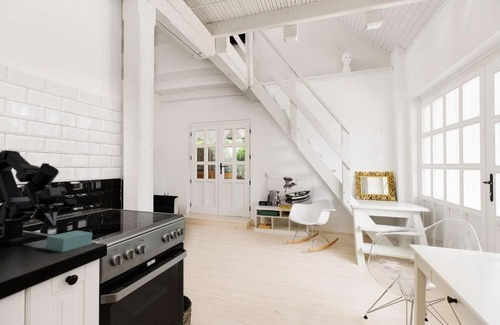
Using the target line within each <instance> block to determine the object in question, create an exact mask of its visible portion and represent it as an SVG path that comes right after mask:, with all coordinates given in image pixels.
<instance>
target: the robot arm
mask: <svg viewBox="0 0 500 325" xmlns="http://www.w3.org/2000/svg"><path fill="white" fill-rule="evenodd" d="M12 170H14V171H15V172H16V173H15V176H14V174H13V171H12ZM59 173H60V171H59V169H58V168H56V167H55V166H53V165H50V164H49V163H47V162H42V164H41V165H40V166H37V165H34V164H31V163H29V162H28V161H27V159H26V158H24V157H23V156H22V155H21V153H20V152H19V151H17V150H9V149H8V150H7V149H4V150H1V151H0V190H1V194H2V197H3V199H4V204H3V205H2V207H1V208H0V224H3V227H2V235H0V239H2V240H9V239H16V238H22V237H26V236H28V234H27V233H23V232H24V225H25V224H24V221H30V220H31V218H32V219H36V220H38V221H40V222H41V223H44V224H46V225H47V226H48V227H51V228H55V227H56V226H57V218H58V216H57V215H58V213H60V214H61V215H62V214H69V213H71V212H72V211H73V210H74V208H76V206H77V205H78V204H77V200H76V199H73V198H72V199H63V200H62V201H61V202H60V203H57V202H58V201H59V200H58V198H60V197H63V196H65V195H67V189H66V187H65V186H58V187H48V186H49V185H52V183H53V181H54V180H55V179H56V177H57V176H58V175H59ZM15 178H16V179H17V181H18V182H19V183H26V184H25V186H24V188H23V193H27V194H28V196H22V195H21V193H20V189H19V186H18V184H17V182H16V179H15Z"/></svg>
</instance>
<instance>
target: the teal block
mask: <svg viewBox="0 0 500 325" xmlns="http://www.w3.org/2000/svg"><path fill="white" fill-rule="evenodd" d="M46 239H47V247H46V249H45V250H47V249H51V250H50V251H52V250H56V251H55V252H57V251H61V252H62V253H63V252H66V251H67V252H68V251H71V250H75V249H79V248H82V247H86V246H89V245H92V240H93V232H91V231H90V232H89V231H83V230H73V231H67V232H63V233H59V234H53V235H48V236H47V238H46Z"/></svg>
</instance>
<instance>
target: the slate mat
mask: <svg viewBox="0 0 500 325" xmlns="http://www.w3.org/2000/svg"><path fill="white" fill-rule="evenodd" d="M21 245H22V246H27V247H32V248H37V249H41V250H47V251H51V252H56V253H57V252H58V253H60V252H61V251H56V250H51V249H46V247H47V238H45V239H42V240H37V241H32V242H27V243H22V244H21Z"/></svg>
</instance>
